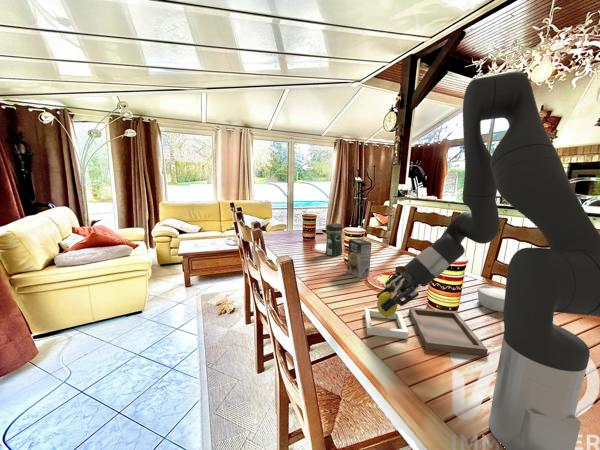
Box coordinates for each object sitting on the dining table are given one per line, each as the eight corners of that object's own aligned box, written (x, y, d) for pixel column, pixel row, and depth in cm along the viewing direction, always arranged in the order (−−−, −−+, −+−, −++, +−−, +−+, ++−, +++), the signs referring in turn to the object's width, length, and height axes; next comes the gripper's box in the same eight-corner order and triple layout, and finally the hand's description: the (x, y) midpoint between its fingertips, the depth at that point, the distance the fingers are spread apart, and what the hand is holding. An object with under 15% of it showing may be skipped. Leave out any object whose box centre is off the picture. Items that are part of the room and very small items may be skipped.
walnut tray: (486, 356, 60) (487, 349, 60) (426, 349, 63) (426, 342, 62) (455, 317, 77) (456, 311, 77) (408, 312, 80) (409, 307, 80)
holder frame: (408, 339, 67) (408, 332, 66) (367, 334, 69) (367, 328, 68) (399, 317, 77) (400, 311, 77) (364, 314, 79) (364, 308, 79)
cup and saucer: (413, 277, 109) (414, 264, 108) (423, 289, 98) (425, 275, 97) (385, 276, 111) (386, 263, 110) (392, 288, 99) (394, 273, 98)
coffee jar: (335, 251, 150) (335, 221, 147) (344, 254, 144) (345, 223, 140) (323, 254, 145) (323, 223, 141) (332, 257, 138) (332, 225, 135)
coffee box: (346, 271, 116) (347, 239, 114) (357, 269, 119) (359, 237, 116) (358, 278, 108) (360, 243, 105) (370, 276, 111) (372, 242, 108)
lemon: (397, 323, 69) (399, 296, 68) (377, 321, 70) (378, 295, 69) (394, 313, 74) (395, 288, 73) (375, 311, 75) (376, 287, 74)
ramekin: (489, 296, 92) (491, 283, 91) (524, 311, 81) (526, 296, 80) (467, 300, 88) (469, 287, 87) (501, 316, 78) (503, 301, 77)
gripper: (408, 250, 75) (367, 285, 78) (427, 265, 61) (376, 306, 64) (425, 267, 76) (383, 301, 79) (447, 286, 61) (396, 326, 65)
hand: (380, 303), depth 72 cm, fingers closed on lemon, 5 cm apart
